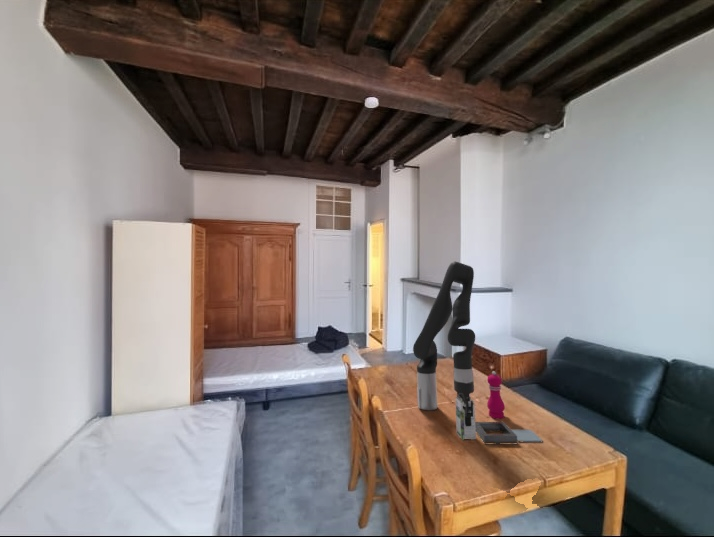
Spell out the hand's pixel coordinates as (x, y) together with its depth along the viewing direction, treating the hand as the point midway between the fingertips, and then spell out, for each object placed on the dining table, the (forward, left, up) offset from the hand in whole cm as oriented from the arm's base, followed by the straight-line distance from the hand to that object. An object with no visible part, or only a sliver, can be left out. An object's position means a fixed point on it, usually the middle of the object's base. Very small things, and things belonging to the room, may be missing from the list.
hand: (465, 421), depth 121 cm
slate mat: (+22, 0, -6) cm, 23 cm away
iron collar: (+11, 0, -6) cm, 12 cm away
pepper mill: (+19, +19, -6) cm, 27 cm away
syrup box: (0, 0, -6) cm, 6 cm away
